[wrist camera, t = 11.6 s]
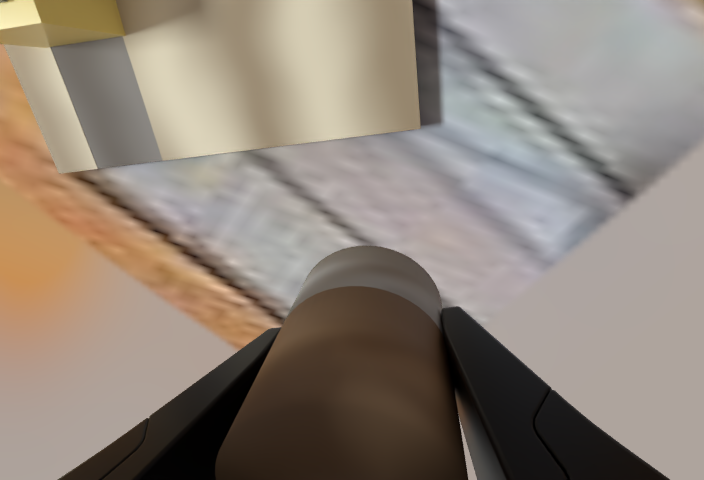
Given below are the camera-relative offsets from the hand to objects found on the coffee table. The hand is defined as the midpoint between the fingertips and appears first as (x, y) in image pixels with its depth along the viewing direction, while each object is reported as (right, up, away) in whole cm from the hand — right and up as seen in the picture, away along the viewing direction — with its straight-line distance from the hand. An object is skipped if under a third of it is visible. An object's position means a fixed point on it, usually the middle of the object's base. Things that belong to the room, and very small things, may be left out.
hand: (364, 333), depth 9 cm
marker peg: (0, 0, +1) cm, 1 cm away
